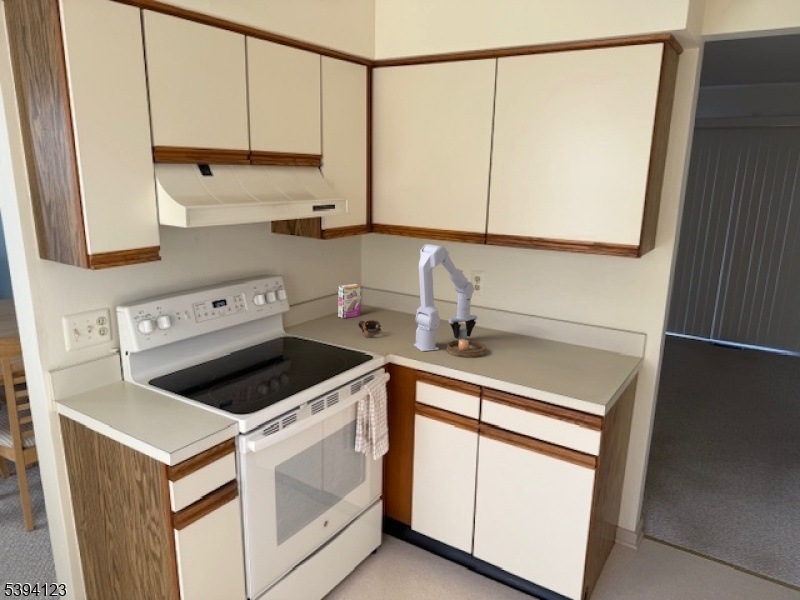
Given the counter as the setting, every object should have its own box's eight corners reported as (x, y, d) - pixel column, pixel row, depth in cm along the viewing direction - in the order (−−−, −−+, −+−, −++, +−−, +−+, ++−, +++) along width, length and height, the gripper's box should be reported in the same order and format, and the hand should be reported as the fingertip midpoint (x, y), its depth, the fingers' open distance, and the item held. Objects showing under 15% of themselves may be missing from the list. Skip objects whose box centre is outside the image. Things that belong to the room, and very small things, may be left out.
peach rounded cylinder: (457, 352, 224) (457, 341, 223) (459, 350, 228) (460, 338, 227) (466, 354, 223) (467, 342, 222) (469, 351, 226) (469, 339, 225)
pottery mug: (384, 334, 253) (385, 321, 248) (374, 347, 247) (374, 335, 242) (362, 324, 257) (362, 312, 252) (352, 337, 251) (351, 324, 245)
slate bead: (456, 339, 246) (456, 328, 245) (463, 338, 248) (464, 327, 247) (460, 341, 243) (460, 331, 242) (468, 341, 244) (468, 330, 243)
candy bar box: (343, 319, 276) (343, 287, 272) (337, 317, 279) (337, 285, 276) (361, 316, 283) (361, 285, 279) (355, 314, 286) (355, 283, 283)
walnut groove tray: (440, 347, 234) (440, 341, 233) (473, 344, 240) (473, 338, 239) (457, 359, 219) (457, 353, 219) (492, 355, 225) (492, 349, 224)
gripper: (471, 304, 249) (469, 332, 252) (445, 307, 241) (443, 336, 245) (480, 307, 243) (479, 336, 246) (454, 310, 236) (453, 341, 239)
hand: (462, 337), depth 245 cm, fingers open, 6 cm apart
